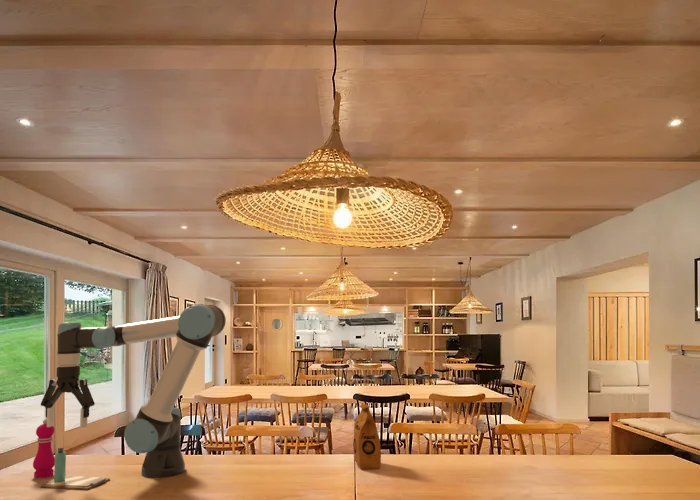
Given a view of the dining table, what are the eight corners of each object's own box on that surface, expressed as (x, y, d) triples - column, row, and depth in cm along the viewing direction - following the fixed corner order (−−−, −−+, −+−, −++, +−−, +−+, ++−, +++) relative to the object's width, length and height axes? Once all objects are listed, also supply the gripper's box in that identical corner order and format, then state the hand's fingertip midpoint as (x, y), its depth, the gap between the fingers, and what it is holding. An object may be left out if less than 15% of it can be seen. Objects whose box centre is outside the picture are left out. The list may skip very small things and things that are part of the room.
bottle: (66, 479, 206) (67, 446, 207) (63, 482, 202) (64, 448, 203) (55, 480, 205) (56, 447, 206) (52, 482, 202) (53, 449, 203)
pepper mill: (45, 479, 210) (47, 421, 212) (27, 478, 212) (29, 421, 214) (59, 473, 217) (61, 417, 219) (42, 473, 219) (43, 417, 221)
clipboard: (110, 480, 207) (111, 476, 207) (88, 490, 195) (88, 486, 195) (65, 477, 211) (65, 474, 211) (40, 487, 200) (40, 483, 200)
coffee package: (355, 470, 213) (354, 408, 215) (352, 462, 225) (351, 403, 227) (383, 469, 214) (381, 407, 216) (378, 461, 226) (377, 402, 228)
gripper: (105, 364, 212) (104, 425, 209) (46, 364, 217) (44, 424, 215) (92, 366, 204) (90, 429, 202) (30, 366, 210) (28, 428, 208)
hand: (66, 426), depth 209 cm, fingers open, 13 cm apart
